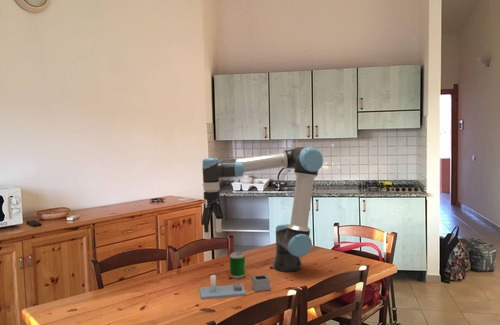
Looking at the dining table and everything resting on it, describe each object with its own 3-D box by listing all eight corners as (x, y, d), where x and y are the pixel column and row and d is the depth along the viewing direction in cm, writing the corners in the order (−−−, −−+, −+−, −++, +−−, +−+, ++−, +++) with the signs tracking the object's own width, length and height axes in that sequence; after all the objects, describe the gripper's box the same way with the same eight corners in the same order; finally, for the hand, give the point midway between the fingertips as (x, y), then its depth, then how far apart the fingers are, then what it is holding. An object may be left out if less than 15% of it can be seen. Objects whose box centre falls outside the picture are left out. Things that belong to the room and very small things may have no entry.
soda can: (243, 279, 209) (242, 255, 208) (228, 278, 211) (228, 255, 210) (246, 274, 216) (246, 251, 216) (232, 273, 218) (231, 250, 217)
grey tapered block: (266, 285, 200) (266, 274, 200) (270, 290, 193) (269, 279, 193) (252, 286, 199) (251, 275, 199) (254, 291, 192) (254, 280, 192)
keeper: (242, 286, 200) (241, 269, 199) (246, 295, 188) (246, 277, 187) (199, 289, 196) (199, 272, 196) (201, 299, 184) (200, 281, 184)
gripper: (214, 187, 212) (216, 229, 214) (192, 194, 189) (194, 241, 190) (228, 187, 210) (230, 229, 211) (208, 194, 187) (210, 242, 188)
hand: (213, 235), depth 201 cm, fingers open, 13 cm apart
